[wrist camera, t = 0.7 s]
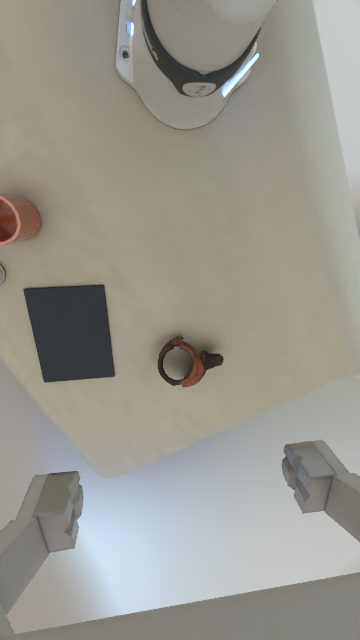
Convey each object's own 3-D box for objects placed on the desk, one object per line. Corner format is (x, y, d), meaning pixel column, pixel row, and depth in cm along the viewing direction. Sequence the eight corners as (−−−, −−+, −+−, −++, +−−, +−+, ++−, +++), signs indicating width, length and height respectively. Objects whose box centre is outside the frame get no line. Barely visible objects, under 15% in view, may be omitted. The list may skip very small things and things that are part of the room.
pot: (-8, 196, 42) (-40, 193, 35) (36, 196, 43) (14, 192, 35) (2, 240, 44) (-26, 246, 37) (44, 239, 45) (25, 244, 38)
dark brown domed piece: (172, 385, 58) (159, 395, 50) (162, 341, 59) (147, 343, 51) (230, 374, 55) (225, 382, 47) (218, 327, 56) (211, 327, 48)
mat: (24, 288, 47) (23, 289, 47) (103, 284, 49) (103, 285, 48) (45, 380, 54) (44, 382, 53) (114, 375, 55) (114, 376, 55)
